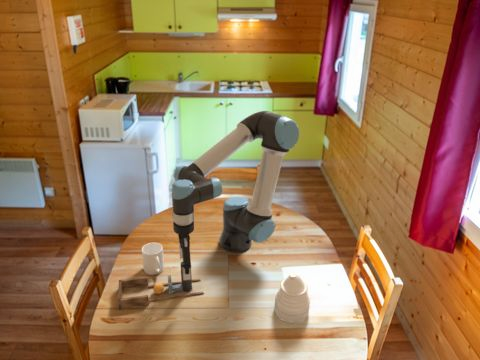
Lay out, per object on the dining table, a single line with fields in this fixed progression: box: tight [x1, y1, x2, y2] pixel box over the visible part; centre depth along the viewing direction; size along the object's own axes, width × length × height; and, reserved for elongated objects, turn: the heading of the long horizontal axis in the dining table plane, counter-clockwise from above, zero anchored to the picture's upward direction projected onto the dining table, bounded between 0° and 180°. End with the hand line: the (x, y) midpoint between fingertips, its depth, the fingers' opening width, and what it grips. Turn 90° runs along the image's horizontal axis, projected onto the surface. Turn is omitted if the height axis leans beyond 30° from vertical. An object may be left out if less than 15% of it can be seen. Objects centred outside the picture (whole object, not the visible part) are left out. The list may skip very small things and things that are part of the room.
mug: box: [141, 242, 165, 276], centre depth 166 cm, size 9×12×11 cm
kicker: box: [167, 260, 193, 295], centre depth 155 cm, size 9×6×12 cm, turn 103°
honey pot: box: [273, 271, 311, 324], centre depth 145 cm, size 13×13×18 cm
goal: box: [117, 276, 150, 310], centre depth 153 cm, size 11×12×4 cm
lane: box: [147, 278, 204, 303], centre depth 157 cm, size 21×9×1 cm, turn 103°
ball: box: [153, 283, 165, 295], centre depth 155 cm, size 4×4×4 cm
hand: (185, 268), depth 154 cm, fingers open, 13 cm apart
